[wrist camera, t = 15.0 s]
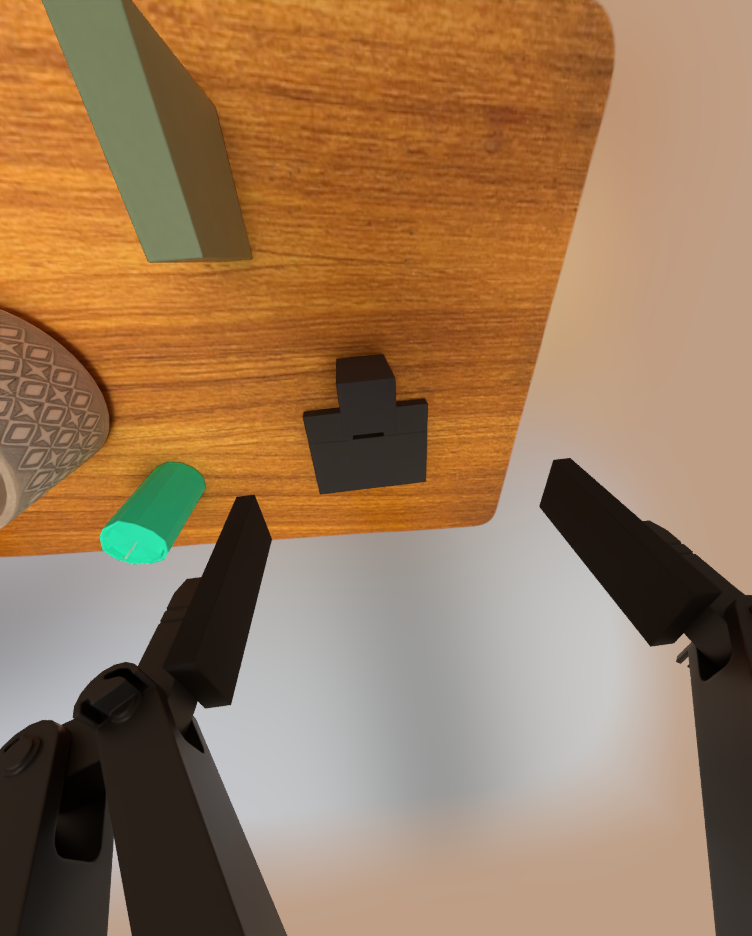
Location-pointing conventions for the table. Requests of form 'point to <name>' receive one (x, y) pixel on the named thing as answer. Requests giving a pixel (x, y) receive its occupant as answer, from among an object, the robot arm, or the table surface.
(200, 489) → the candle
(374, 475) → the pad
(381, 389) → the black rectangular block
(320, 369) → the table surface
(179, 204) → the stand
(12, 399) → the planter
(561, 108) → the table surface
